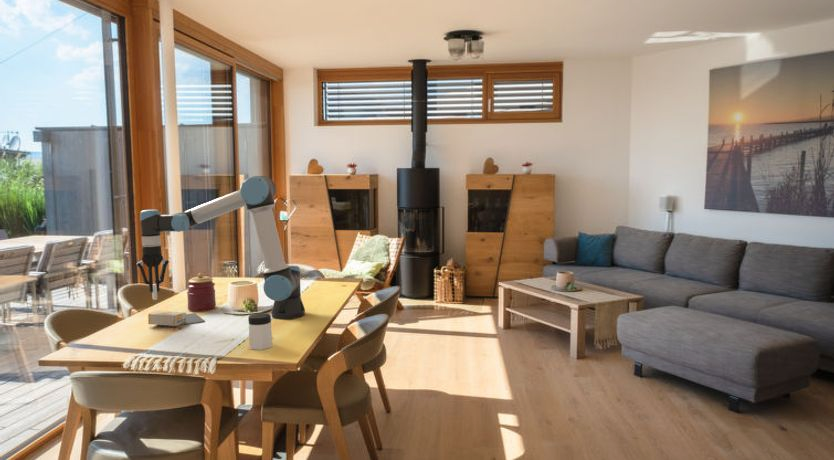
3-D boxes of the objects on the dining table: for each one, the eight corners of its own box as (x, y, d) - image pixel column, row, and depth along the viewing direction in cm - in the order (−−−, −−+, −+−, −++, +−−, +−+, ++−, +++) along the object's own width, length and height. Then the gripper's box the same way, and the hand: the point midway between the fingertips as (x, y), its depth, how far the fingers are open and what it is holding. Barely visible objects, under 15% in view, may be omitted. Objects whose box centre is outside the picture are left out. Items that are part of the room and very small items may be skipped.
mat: (205, 321, 259) (205, 320, 258) (164, 328, 249) (163, 326, 249) (194, 314, 273) (194, 312, 273) (155, 319, 264) (155, 318, 264)
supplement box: (147, 324, 250) (175, 326, 248) (148, 313, 250) (176, 315, 248) (159, 321, 258) (186, 322, 256) (159, 310, 258) (186, 312, 256)
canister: (214, 304, 292) (212, 269, 291) (217, 310, 281) (216, 273, 279) (186, 307, 287) (184, 272, 285) (188, 313, 275) (186, 276, 273)
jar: (264, 341, 227) (263, 311, 226) (277, 345, 222) (276, 314, 220) (244, 347, 220) (242, 316, 219) (257, 351, 215) (255, 319, 214)
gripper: (165, 243, 259) (169, 295, 261) (133, 246, 252) (137, 299, 254) (169, 245, 253) (172, 298, 255) (136, 247, 245) (140, 302, 248)
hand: (155, 299), depth 254 cm, fingers closed
